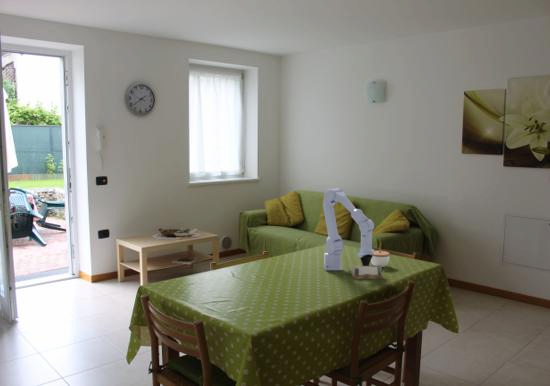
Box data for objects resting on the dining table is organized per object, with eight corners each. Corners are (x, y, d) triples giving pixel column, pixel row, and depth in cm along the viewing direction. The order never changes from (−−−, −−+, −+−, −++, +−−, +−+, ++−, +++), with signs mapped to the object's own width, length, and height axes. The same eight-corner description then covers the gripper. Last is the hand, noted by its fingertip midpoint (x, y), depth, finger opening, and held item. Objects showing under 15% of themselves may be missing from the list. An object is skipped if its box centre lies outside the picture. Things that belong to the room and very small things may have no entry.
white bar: (380, 273, 254) (381, 265, 253) (381, 274, 252) (382, 266, 252) (353, 273, 253) (353, 265, 253) (354, 274, 251) (354, 266, 251)
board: (353, 279, 249) (354, 269, 248) (348, 271, 264) (349, 262, 263) (383, 279, 249) (383, 269, 249) (376, 271, 264) (376, 262, 263)
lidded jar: (387, 264, 279) (388, 248, 278) (390, 269, 268) (391, 252, 267) (368, 263, 280) (369, 247, 279) (370, 268, 269) (371, 251, 268)
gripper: (366, 246, 246) (365, 273, 248) (379, 242, 257) (379, 267, 259) (354, 244, 251) (353, 270, 252) (367, 240, 262) (367, 265, 263)
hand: (365, 268), depth 256 cm, fingers closed
